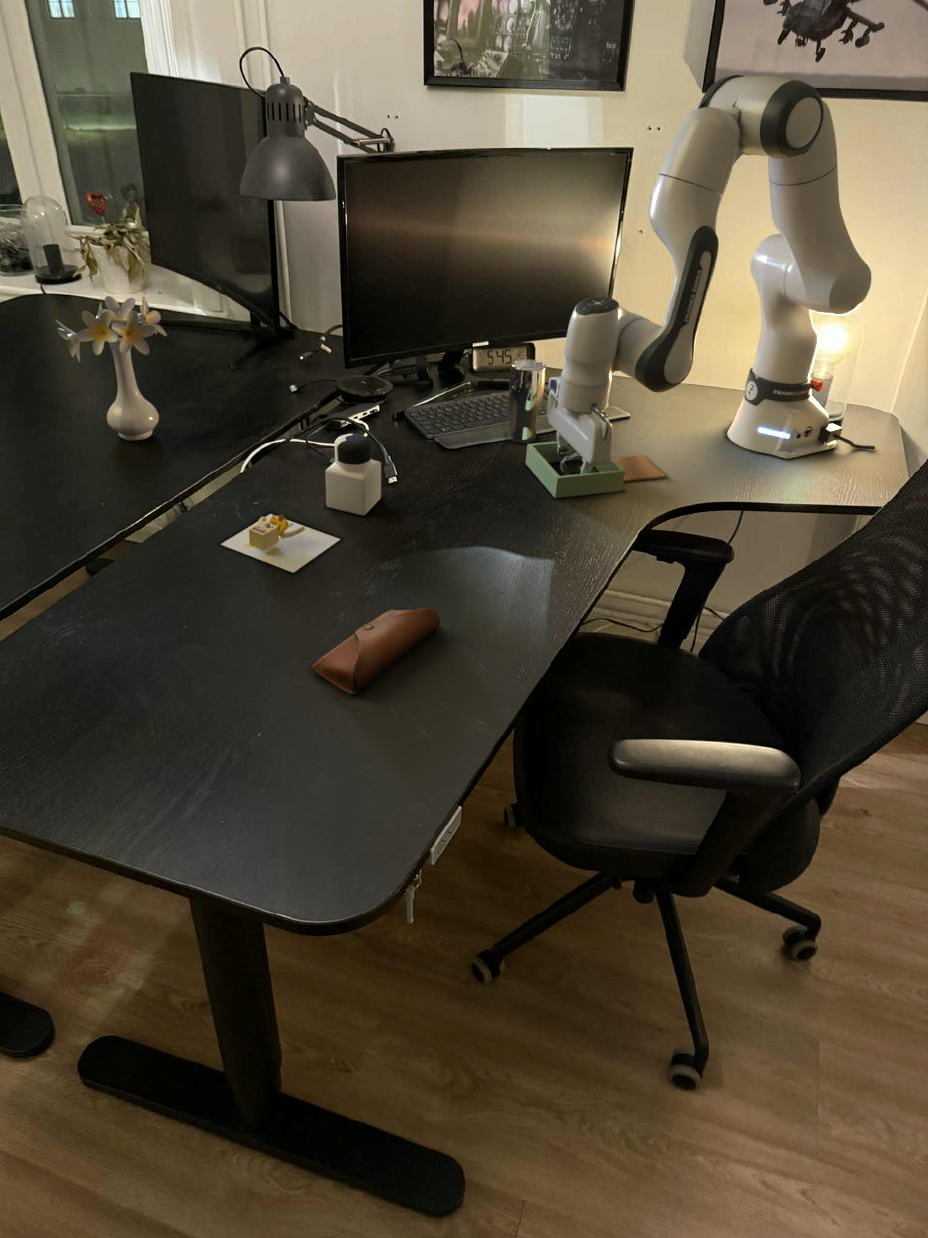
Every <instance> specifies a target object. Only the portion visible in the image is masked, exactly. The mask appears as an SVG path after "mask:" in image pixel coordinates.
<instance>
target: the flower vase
mask: <svg viewBox="0 0 928 1238" xmlns="http://www.w3.org/2000/svg"><path fill="white" fill-rule="evenodd" d="M104 303H105V306H106V307H107V308H106V309H105V308H103V306H102V305H103V304H102V302H101V301H100V302H99V306H98V308H97V309H98V310H97V314H96V317H95V315H93V314H92V313H91V312H90V311H88V310H83V311H82V312H81V318H82V321H83V322H84V324H85V325H86V327H88V328H84V329H82V330H80V331H78V332H77V333H76V332H74V331H73V330H72V329H69V328H68V327H67V326H65V325H63V323H61V322H60V321H59V320H58V319H55V322H56V323H57V324H58V326H59V327H60V328H59V327H57V328H56V330H57V332H58V334H59V335H60V337H62V339H64V340H66V341H69V342H68V351H69V353H70V356H71V357H72V358H74V357H75V356H76V359H77V360H78V362H79V363H81V354H80V348H81V342H84V343H86V342H91V341H93V342H92V351H93V354H95V355H96V356H100V355H101V354H102V353H103V351H104V348H105V342H107V343H108V345H109V347H110V350H111V353H112V357H113V362H114V368H115V374H116V375H115V376H116V381H117V393H116V397H115V400H114V402H113V403H112V404H111V405H110V407H109V409H108V410H107V414H106V422H107V424H108V426H109V428H111V429H112V430H113V431H114V432H117V433H118V437H119V438H121V439H123V440H125V441H133V442H134V441H141V440H146V439H148V438H149V437H151V436H152V435H153V432H154V431H153V430H154V429H155V428H156V426H158V423H159V420H160V414H159V413H158V410H157V408H156V406H154V405H153V404H152V403H151V402H150V401H148V400H147V399H146V398H145V397H144V395H142V393H141V391H140V389H139V387H138V383H137V379H136V375H135V371H134V367H133V360H132V353H131V352H132V350H131V349H132V348H133V347H134V348H135V349H136V350H137V351H138V352H139V353H140V354H142V355H144V356H145V355H146V356H147V355H149V354H150V347H149V345H148V343H147V342H146V340H145V339H144V338H148V337H151V336H153V334H156V335H157V334H158V333H159V334H160V335H163V336H164V337H167V336H168V334H167V332H166V330H164V328H163V327H161V325H159V324H157V323H159V322H160V321H161V318H162V317H161V314H160V313H159V311H157V310H151V311H150V307H149V303H148V301H147V300H146V297H145V296H142V297H141V305H139V310H140V312H137V311H136V310H135V309H134V307H135V305H136V299H135V298H134V297H130V298H127V299H126V300H124V301H123V302H122V304H121V305H120V304H119V302H118V301H117V299H115V298H114V297H112V296H110V295H107V296H105V297H104ZM110 325H111V327H110Z"/></svg>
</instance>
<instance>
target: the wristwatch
mask: <svg viewBox="0 0 928 1238" xmlns="http://www.w3.org/2000/svg"><path fill="white" fill-rule="evenodd" d="M579 456H580V458H581V460H580V461H582V459H583V457H582V456H581V455H580V454H579V453H578V452H577V453H574V454H573V455H571V456H566V457H564V459H563V460H562V461H560V463H559V470H560V471H561V472H562V474H563V476H565V475H575V474H578V472H575V471H573V470H572V469H571V468H570V466H568V464H567V463H566V462H570V460H571V459H572V458H574V457H579ZM571 461H572V460H571ZM583 463H584V462H582V464H583Z"/></svg>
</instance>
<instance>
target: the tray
mask: <svg viewBox="0 0 928 1238" xmlns="http://www.w3.org/2000/svg"><path fill="white" fill-rule="evenodd" d="M526 444H527V445H526V453H525V465H526V466H527V468H529V469H530V470H531V472H532V474H533V475H535V476H536V478H537V479H538V480H539V481H540V482H541V483H542V485H543V486H544V487H545V488H546V490H548V492H549V493H550V494H551V495H552V496H553V497H554V498H555V499H559V498H569V497H578V496H587V495H597V494H605V493H614V492H622V491H623V487H624V486H623V485H624V482H623V481H624V476H625V470H624V469H623V468H622V467H620V466H619V465H618V464H617V463H616V462H615V461H614V460H613V458H612V457H611V456H610V459H609V461H608V462H607V463H606V464H602V465H595V466H594V467H593V468H595V469H596V470H597V471H595V472H591V473H585V474H575V475H560V474H558V473H557V471H556V470H555V469H554V468H553V466H551V465H550V464H551V463H558V462H560V463H561V461H562V460H563V459H564V457H561V456H560V455H559V454H558V453H557V450H558V443H557V441H548V442H536V443H535V442H534V443H526ZM568 447H569V448H570V449H569V455H568V456H571V455H573V454H574V453H577V451H576V450H575V449H574V448H573V447H572V446H571V445H570V444H569V443H568ZM579 460H580V461H582V460H581V458H580V456H579V457H574V458H572V459H571V460H570V461H579ZM570 461H569V462H570Z"/></svg>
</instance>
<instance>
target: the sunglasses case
mask: <svg viewBox="0 0 928 1238" xmlns="http://www.w3.org/2000/svg"><path fill="white" fill-rule="evenodd" d="M440 626H441V618H440V615H439V613H438V612H437V610H436V609H434V608H432V607H421V608H417V609H390V610H387V611H386V612H384V613H382V614H381V615H379V616H378V617H376V618H375V619H373V620H371V621H369V622H367V623H366V624H363V625H362V626H361V627H359V628H357V629H356V631H354V634H352V635H350V636H349V637H348V638H347V639H345V640H343V641H342V642H341V643H339V644H337V645H336V646H335V647H334V648H332V649H331V650H330V651H328V652H327V653H326V654H324V655H323V656H321V658H319V659H318V660H317V661H316V662H315V663H314V664H312V670H313V672H314V673H316V674H317V675H318V676H320V677H321V678H322V679H324V680H325V681H327V682H328V683H330V684H332V685H333V686H335V687H337V688H338V689H340V690H341V691H343V692H345V693H347V694H348V695H355V694H357V693H358V692H361V691H363V690H364V689H365V688H366V687H367V686H368V685H370V684H371V683H372V682H373V681H374V680H375V679H376V678H377V677H379V675H380V674H381V673H382V672H384V671H386V670H387V668H389V667H390V666H391V665H392V664H393V663H394V662H396V661H397V660H398V659H400V658H401V657H402V656H403V655H405V654H406V653H407V652H408V651H410V649H411V648H413V647H415V645H417V644H418V643H420V642H421V641H422V640H424V639H425V638H427V636H429V635H430V634H432V633H433V632H434V631H435V630H436V629H438V628H439V627H440Z"/></svg>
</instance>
